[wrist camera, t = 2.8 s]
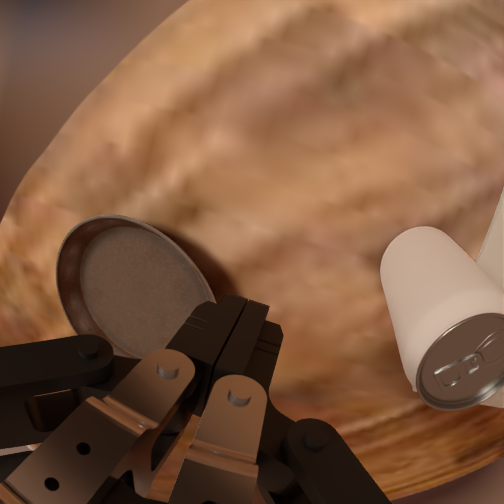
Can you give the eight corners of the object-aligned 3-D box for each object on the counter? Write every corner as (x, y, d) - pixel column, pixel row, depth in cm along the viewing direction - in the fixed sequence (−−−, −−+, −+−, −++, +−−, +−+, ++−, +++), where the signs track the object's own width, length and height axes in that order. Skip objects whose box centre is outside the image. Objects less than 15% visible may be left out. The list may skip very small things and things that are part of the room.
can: (468, 276, 21) (537, 371, 10) (402, 318, 24) (431, 434, 13) (435, 207, 20) (514, 274, 9) (363, 255, 23) (382, 358, 12)
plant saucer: (256, 368, 29) (248, 390, 26) (117, 372, 35) (103, 387, 32) (191, 179, 24) (173, 186, 22) (53, 233, 30) (33, 242, 27)
